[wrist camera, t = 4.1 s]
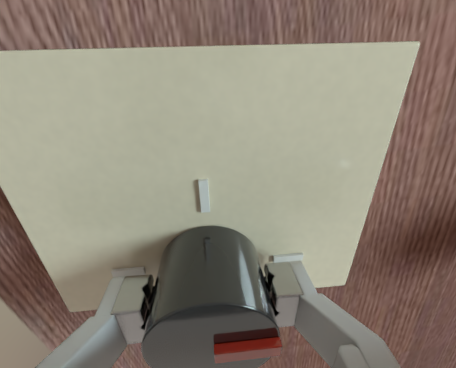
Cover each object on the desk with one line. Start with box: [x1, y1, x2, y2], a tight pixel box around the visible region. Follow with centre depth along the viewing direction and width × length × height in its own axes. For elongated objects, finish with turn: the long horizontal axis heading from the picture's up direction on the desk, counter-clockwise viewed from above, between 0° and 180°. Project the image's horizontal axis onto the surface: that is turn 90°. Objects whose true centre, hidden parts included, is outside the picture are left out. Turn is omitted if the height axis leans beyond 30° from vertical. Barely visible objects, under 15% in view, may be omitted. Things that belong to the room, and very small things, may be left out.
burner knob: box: [141, 226, 282, 368], centre depth 9 cm, size 4×4×4 cm
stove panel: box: [0, 41, 420, 312], centre depth 11 cm, size 14×13×3 cm
